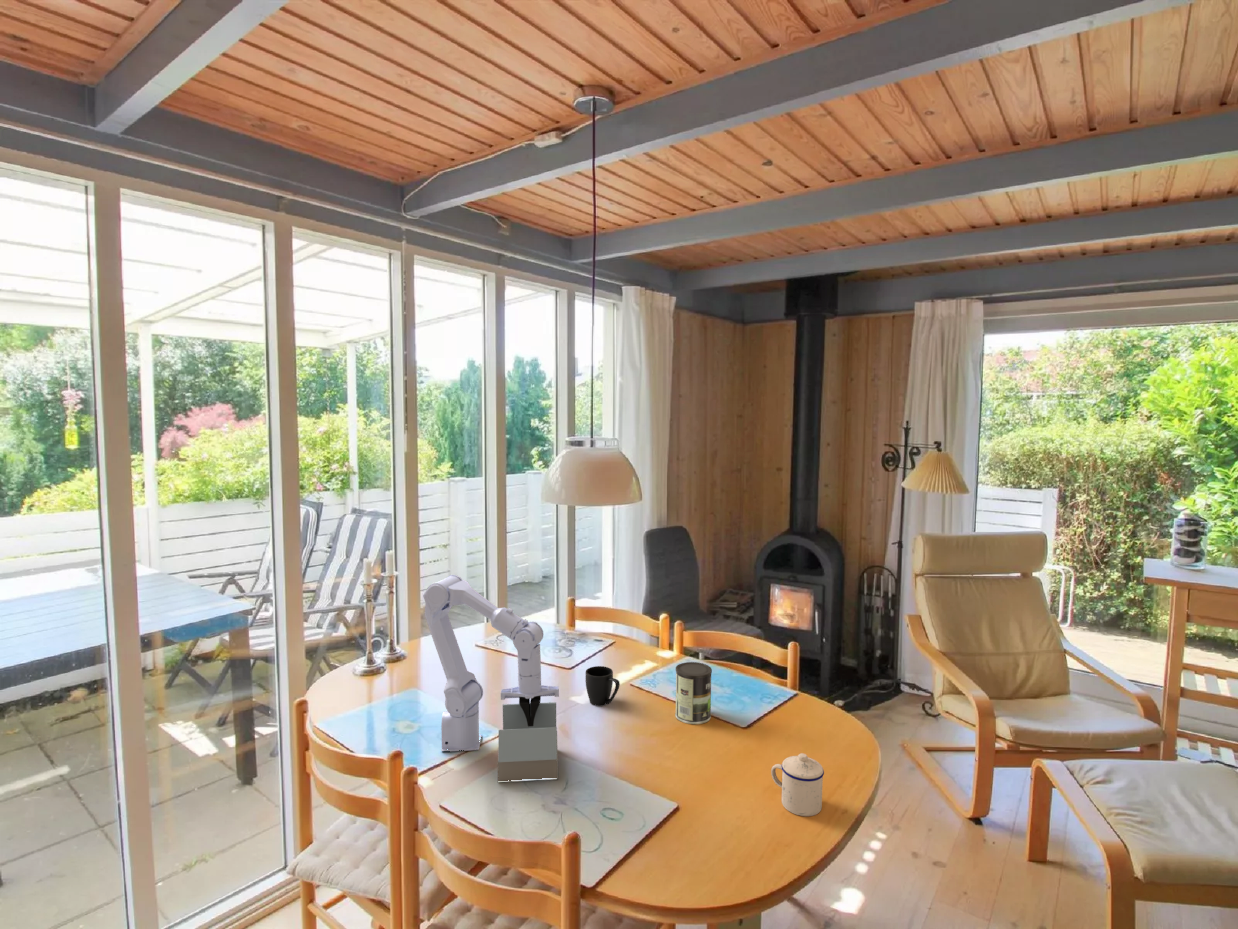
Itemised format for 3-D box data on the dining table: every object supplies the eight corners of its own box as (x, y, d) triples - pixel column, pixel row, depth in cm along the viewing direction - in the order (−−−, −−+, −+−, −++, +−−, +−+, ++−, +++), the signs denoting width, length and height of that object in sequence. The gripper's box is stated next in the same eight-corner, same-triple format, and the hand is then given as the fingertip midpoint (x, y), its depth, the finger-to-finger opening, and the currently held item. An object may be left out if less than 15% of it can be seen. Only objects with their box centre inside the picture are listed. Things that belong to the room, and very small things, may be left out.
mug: (607, 715, 188) (607, 683, 187) (579, 701, 196) (579, 671, 196) (627, 706, 194) (627, 675, 193) (599, 693, 202) (599, 663, 201)
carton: (497, 782, 154) (497, 762, 153) (502, 751, 167) (502, 733, 167) (557, 779, 155) (557, 759, 155) (557, 749, 169) (557, 730, 168)
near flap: (498, 761, 153) (498, 762, 152) (498, 729, 154) (498, 730, 154) (556, 758, 154) (556, 759, 154) (556, 727, 156) (556, 727, 155)
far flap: (502, 705, 166) (502, 704, 167) (503, 730, 168) (503, 729, 168) (556, 703, 168) (556, 702, 168) (556, 727, 169) (556, 726, 169)
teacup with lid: (829, 804, 146) (831, 754, 145) (811, 823, 139) (813, 771, 138) (780, 783, 154) (781, 736, 153) (761, 801, 147) (762, 751, 146)
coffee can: (712, 709, 192) (712, 663, 191) (709, 726, 182) (710, 677, 181) (677, 706, 194) (677, 660, 193) (672, 722, 184) (673, 674, 183)
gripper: (498, 680, 160) (500, 733, 161) (558, 677, 161) (559, 730, 162) (501, 669, 167) (502, 720, 168) (558, 666, 168) (559, 717, 169)
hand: (530, 724), depth 166 cm, fingers closed, pressing on far flap
